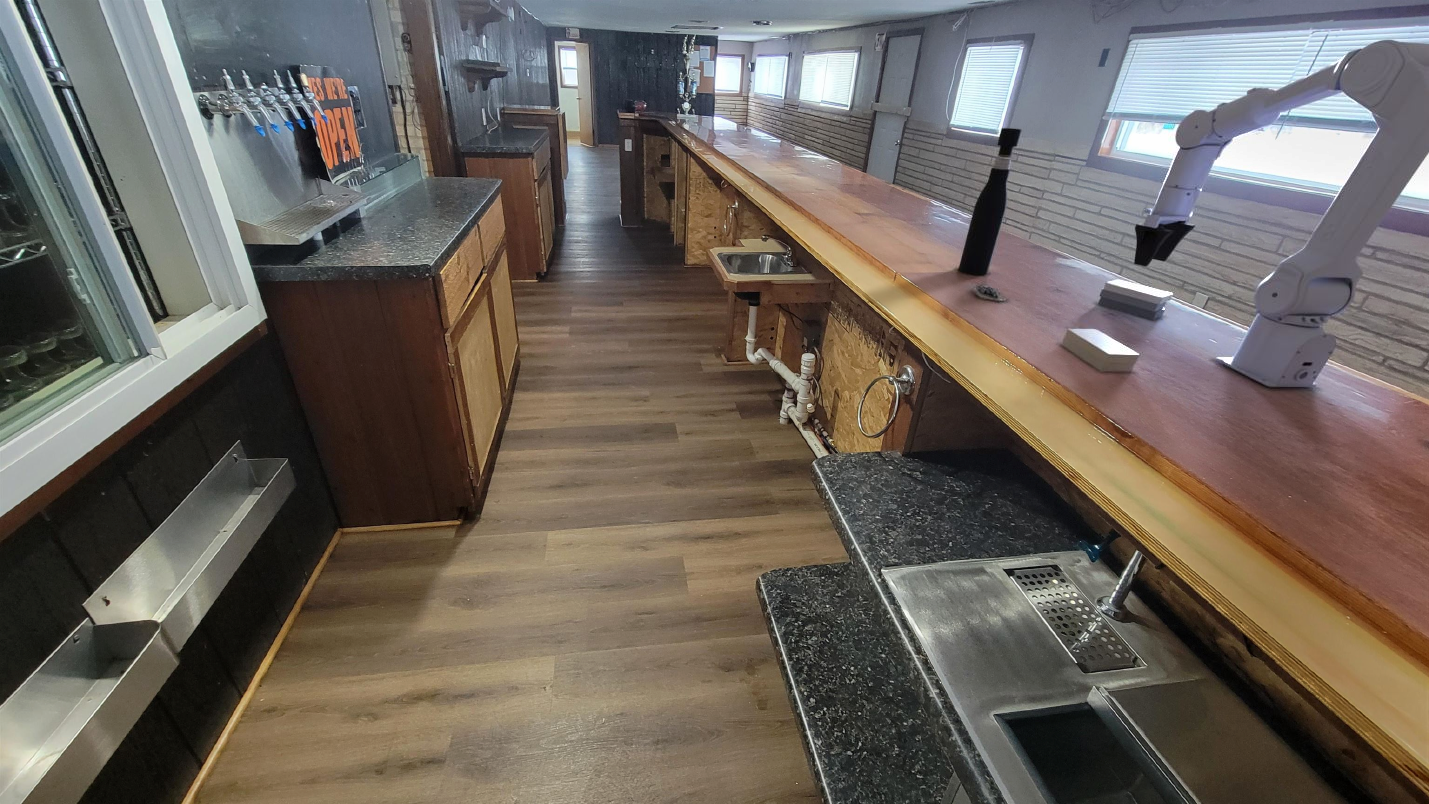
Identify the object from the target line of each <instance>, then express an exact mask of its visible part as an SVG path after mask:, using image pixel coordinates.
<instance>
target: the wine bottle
mask: <svg viewBox="0 0 1429 804" xmlns="http://www.w3.org/2000/svg"><path fill="white" fill-rule="evenodd" d="M1022 132H1023V130H1022V128H1013V127H1012V128H1011V127H1002V128H1001V129H1000V134H999V137H998V140H997V146H1000V147H999V151H998V153H997V157H998V158H995V160H993V162H994V164H993V165H992V166H993V167H991V168H990V172H989V176H988V179H987V181H986V183H985V184H984V186H983V189H982V190H981V192H980V193H979V195H978V198H977V199H976V202H975V204H974V208H973V212H972V215H971V219H970V223H969V226H968V230H967V234H966V238H965V241H964V246H963V250H962V254H961V257H960V262H959V265H958V270H959V271H960V272H962V273H964V274H967V275H973V276H985V275H988V273H989V270H990V266H991V264H992V260H993V256H994V253H995V249H996V246H997V242H998V239H999V236H1000V231H1001V228H1002V225H1003V222H1004V218H1005V215H1006V211H1007V205H1008V185H1007V184H1008V180H1009V177H1010V172H1011V169H1010V168H1011V164H1012V160H1011V159H1009V158H1011V157H1012V154H1013V150H1014V148H1017V147H1018V145H1019V142H1020V139H1021V135H1022Z"/></svg>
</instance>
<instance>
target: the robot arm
mask: <svg viewBox="0 0 1429 804" xmlns="http://www.w3.org/2000/svg"><path fill="white" fill-rule="evenodd" d="M1338 94H1339V95H1340V94H1344V95H1345V96H1346V97H1347V98H1349V99H1350V100H1352V102H1355V103H1356V104H1357V105H1359V106H1361V107H1362V108H1364V109H1365V110H1367V111H1368V112H1369V115H1370V116H1371V118H1372V119H1373V121H1374V123H1375V124H1376V126H1377V131H1376V133H1375V134H1374V136H1373V138H1372V139H1371V141H1370V143H1369V144H1368V145H1367V147H1366V149H1365V150H1364V151H1363V153H1362V155H1361V156H1360V158H1359V160H1358V161H1357V163H1356V165H1354V167H1353V169H1352V171H1351V172H1350V174H1349V175H1348V177H1347V179H1346V180H1345V182H1344V183H1343V185H1342V186H1341V188H1340V190H1339V191H1338V193H1337V194H1336V196H1335V198H1334V199H1333V201H1332V203H1330V206H1328V209H1327V210H1326V212H1325V213H1324V215H1323V217H1322V218H1321V220H1320V221H1319V223H1318V225H1317V226H1316V228H1315V229H1314V231H1313V232H1312V234H1311V236H1310V237H1309V239H1308V240H1307V242H1306V244H1305V245H1304V247H1303V248H1302V249H1300V250H1299V251H1297V252H1295V253H1294V254H1292V255H1290V256H1288V257H1287V258H1285V259H1283V260H1281V261H1280V262H1279V263H1278V264H1277V266H1276V268H1275V269H1274V270H1273V272H1271V273H1270V275H1268V276H1267V277H1265V278H1263V280H1262V281H1260V283H1259V284H1258V285H1257V286H1256V289H1255V290H1254V294H1253V303H1254V306H1255V308H1256V309H1255V311H1254V313H1255V314H1256V315H1255V318H1254V319H1253V321H1252V323H1251V325H1250V326H1249V328H1248V330H1247V332H1246V333H1245V336H1244V337H1243V339H1242V341H1241V342H1240V344H1239V346H1238V348H1237V350H1236V352H1235V354H1234V356H1232V357H1231V356H1230V357H1229V356H1228V357H1227V356H1223V357H1222V356H1221V357H1220V356H1219V357H1216V358H1215V361H1217V362H1218V363H1221V364H1222V365H1225V366H1226V367H1229V368H1231V369H1232V370H1234V371H1236V372H1238V373H1241V374H1242V375H1244V376H1246V377H1247V378H1250V379H1252V380H1254V381H1255V382H1257V383H1260V384H1262V385H1264V386H1266V387H1269V388H1315V387H1317V383H1316V380H1317V378H1318V377H1319V376H1320V373H1321V372H1322V370H1323V369H1324V367H1325V366H1326V364H1327V362H1328V361H1329V359H1330V358H1331V357H1332V355H1333V353H1334V352H1335V349H1336V346H1337V339H1336V337H1335V336H1334V335H1333V334H1331V333H1329V332H1328V331H1326V330H1325V329H1324V327H1323V325H1324V324H1328V321H1329V320H1330V318H1331V317H1333V316H1336V315H1339V314H1341V313H1343V312H1345V310H1347V309H1348V308H1349V307H1350V306H1351V304H1352V303H1353V301H1354V300H1355V296H1356V289H1357V286H1358V282H1359V281H1360V279H1361V278H1362V276H1363V275H1364V271H1363V269H1362V268H1361V266H1360V265H1359V263H1358V262H1357V258H1358V257H1359V254H1360V253H1361V252H1362V250H1363V249H1364V247H1365V246H1366V245H1367V243H1368V242H1369V241H1370V239H1371V237H1372V236H1373V235H1374V233H1375V231H1376V230H1377V229H1378V227H1379V226H1380V224H1381V223H1382V221H1383V220H1384V219H1385V217H1387V216H1386V215H1388V213H1389V211H1390V210H1391V209H1392V207H1393V206H1394V204H1395V203H1396V201H1397V199H1398V198H1399V197H1400V195H1401V194H1402V193H1403V191H1404V189H1405V188H1406V187H1407V185H1408V183H1409V182H1410V181H1411V179H1412V178H1413V176H1414V175H1415V174H1416V172H1418V169H1419V167H1420V166H1421V165H1422V164H1423V162H1424V160H1425V159H1426V158H1427V156H1428V155H1429V43H1425V42H1424V43H1423V42H1421V43H1420V42H1406V41H1397V40H1394V39H1381V40H1378V41H1374V42H1372V43H1370V44H1368V45H1366V46H1364V47H1363V48H1357V49H1355V50H1351V51H1348V52H1347V53H1345V55H1344V56H1343V57H1342V58H1341V59H1339V60H1337V61H1335V62H1333V63H1331V64H1329V65H1326V66H1325V67H1322V68H1320V69H1318V70H1317V71H1314V72H1313V73H1312V72H1311V73H1310V74H1308V75H1305V76H1303V77H1301V78H1300V79H1297V80H1295V81H1293V82H1291V83H1289V84H1287V85H1284V86H1283V87H1281V88H1279V89H1276V90H1275V89H1274V88H1270V87H1253V88H1250V89H1248V90H1247V91H1246V95H1243V96H1241V97H1238V98H1236V99H1234V100H1232V101H1229V102H1221V103H1219V104H1217V106H1216V108H1213V109H1212V110H1209V111H1208V110H1204V109H1195V110H1193V111H1191V113H1189V114H1188V115H1186V116H1184V117H1183V119H1182V120H1181V121H1180V123H1179V124H1178V126H1177V128H1176V130H1175V142H1176V145H1177V146H1178V147H1177V150H1176V152H1175V155H1174V156H1173V159H1172V162H1171V165H1170V167H1169V169H1168V171H1167V174H1166V176H1165V179H1164V181H1163V184H1162V186H1161V189H1160V191H1159V194H1158V196H1157V199H1156V201H1155V204H1154V205H1153V208H1151V207H1150V208H1149V207H1148V208H1145V209H1144V211H1143V213H1144V214H1147V215H1146V217H1145V219H1144V222H1139V223H1136V224H1135V226H1134V232H1135V236H1136V239H1135V240H1136V247H1135V254H1134V260H1133V262H1134V263H1133V264H1134V265H1138V266H1141V267H1144V268H1145V267H1148V266H1149V265H1150V263H1152V261H1153V260H1155V261H1159V262H1166V261H1167V260H1168V258H1169V257H1170V256H1171V255H1172V253H1173V252H1174V251H1175V249H1176V248H1177V246H1178V245H1179V244H1180V242H1182V240H1183V239H1184V238H1185V237H1186V236H1187V235H1188V234H1189V233H1190V232H1192V230H1194V229H1195V228H1196V224H1195V223H1192V222H1191V223H1190V220H1191V218H1192V215H1193V213H1194V208H1195V206H1196V203H1197V202H1198V200H1199V198H1200V195H1201V192H1202V190H1203V188H1204V185H1205V183H1206V182H1207V179H1208V177H1209V174H1210V172H1211V170H1212V168H1213V166H1214V163H1215V161H1217V160H1218V159H1219V158H1220V157H1221V155H1222V153H1223V151H1224V149H1226V147H1228V146H1229V145H1230V144H1231V143H1232V142H1233V141H1234V140H1235V139H1237V138H1239V137H1242V136H1244V135H1248V134H1250V133H1253V132H1256V131H1258V130H1262V129H1263V128H1266V127H1269V126H1271V125H1273V124H1275V123H1276V122H1277V121H1278V119H1279V118H1280V116H1281V115H1282V113H1284V112H1288V111H1291V110H1293V109H1297V108H1300V107H1304V106H1306V105H1309V104H1311V103H1315V102H1318V101H1321V100H1324V99H1327V98H1330V97H1333V96H1336V95H1338Z"/></svg>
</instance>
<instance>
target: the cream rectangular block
mask: <svg viewBox="0 0 1429 804" xmlns="http://www.w3.org/2000/svg"><path fill="white" fill-rule="evenodd" d="M1060 345H1061V346H1062V347H1064V348H1065V349H1066V350H1068V351H1070V352H1071V353H1073V354H1074V355H1076V356H1077V357H1078V358H1079V359H1081V360H1083V361H1084V362H1086V363H1088V364H1090V365H1091V366H1092V367H1093V368H1095V369H1097V371H1100V372H1132V371H1133V369H1134V367H1135V365H1136V363H1137V361H1138V359H1139V357H1140V353H1137V352H1136V351H1135V350H1133V349H1131V348H1129V347H1128V346H1126V345H1123V344H1122V343H1120V342H1119V341H1117V340H1115V339H1114V338H1112V337H1110V336H1108V335H1107V334H1106V333H1103V332H1102V331H1100V330H1098V329H1096V328H1067V329H1066V332H1065V334H1064V337H1063V339H1062V341H1061V344H1060Z"/></svg>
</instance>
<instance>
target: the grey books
mask: <svg viewBox="0 0 1429 804" xmlns="http://www.w3.org/2000/svg"><path fill="white" fill-rule="evenodd" d="M1099 297H1100V298H1099V300H1098V303H1097V305H1099V306H1103V307H1105V308H1109V309H1113V310H1116V311H1119V312H1123V313H1127V314H1130V315H1133V316H1136V317H1140V318H1144V319H1147V320H1150V321H1154V320H1157V319H1159V318H1162V317H1163V315H1164V313H1165V311H1166V308H1165V306H1166V304H1167V302H1164V303H1162V304H1155V303H1152V302H1148V301H1144V300H1141V299H1137V298H1133V297H1130V296H1126V295H1122V294H1119V293H1115V292H1112V291H1108V290H1104V289H1103V288H1102V289H1101V291H1100V292H1099Z"/></svg>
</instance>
